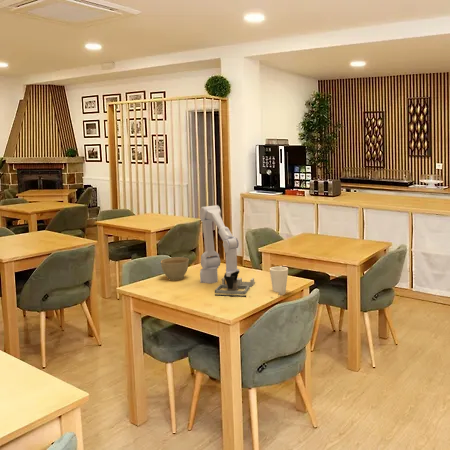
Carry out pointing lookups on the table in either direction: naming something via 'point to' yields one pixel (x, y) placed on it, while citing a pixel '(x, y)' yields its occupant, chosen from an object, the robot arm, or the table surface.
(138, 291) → the table surface
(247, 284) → the block
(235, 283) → the block
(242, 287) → the parts tray
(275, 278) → the foam cup
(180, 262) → the planter bowl
